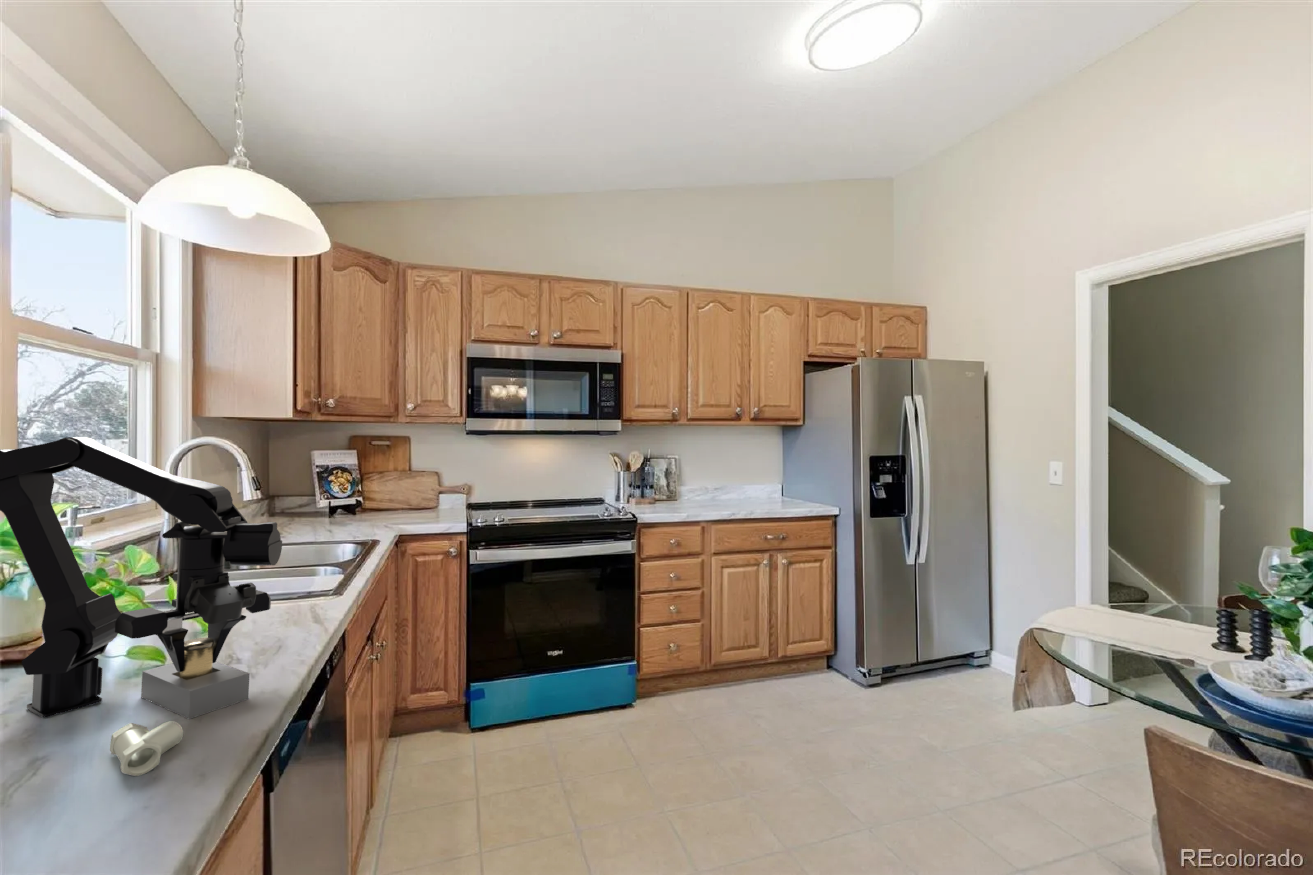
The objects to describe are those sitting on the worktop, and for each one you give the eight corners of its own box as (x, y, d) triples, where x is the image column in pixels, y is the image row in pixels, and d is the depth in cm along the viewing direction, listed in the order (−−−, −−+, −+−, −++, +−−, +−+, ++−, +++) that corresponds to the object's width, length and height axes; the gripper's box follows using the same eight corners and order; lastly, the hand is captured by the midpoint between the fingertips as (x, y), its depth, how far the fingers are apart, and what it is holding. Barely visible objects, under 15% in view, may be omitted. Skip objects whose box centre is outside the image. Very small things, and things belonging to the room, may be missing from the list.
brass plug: (186, 704, 89) (189, 647, 89) (173, 698, 91) (175, 643, 91) (216, 695, 93) (219, 640, 93) (202, 689, 95) (205, 636, 95)
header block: (188, 719, 85) (190, 691, 85) (141, 697, 92) (142, 671, 92) (248, 699, 92) (249, 673, 92) (200, 680, 99) (201, 655, 99)
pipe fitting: (175, 742, 80) (108, 757, 75) (179, 712, 80) (113, 725, 75) (192, 763, 75) (121, 782, 70) (196, 732, 75) (126, 747, 70)
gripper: (154, 584, 80) (148, 700, 80) (292, 563, 97) (288, 659, 97) (116, 574, 85) (110, 683, 85) (253, 555, 102) (249, 646, 102)
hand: (196, 666), depth 92 cm, fingers closed on brass plug, 4 cm apart
